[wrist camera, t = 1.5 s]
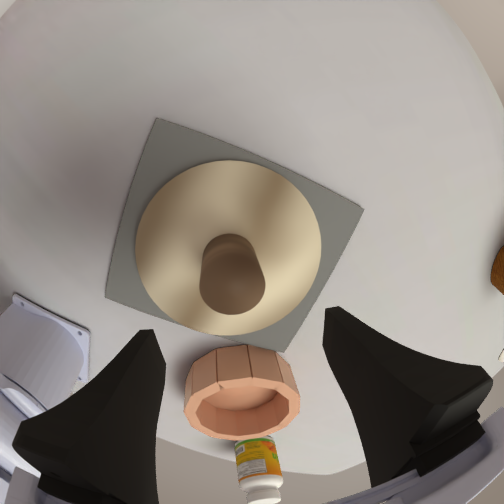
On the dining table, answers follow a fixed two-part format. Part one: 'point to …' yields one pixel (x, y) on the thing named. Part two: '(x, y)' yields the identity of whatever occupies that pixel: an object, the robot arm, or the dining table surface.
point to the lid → (228, 248)
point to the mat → (200, 152)
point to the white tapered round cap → (501, 357)
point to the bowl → (240, 393)
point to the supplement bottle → (259, 470)
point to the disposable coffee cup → (498, 271)
